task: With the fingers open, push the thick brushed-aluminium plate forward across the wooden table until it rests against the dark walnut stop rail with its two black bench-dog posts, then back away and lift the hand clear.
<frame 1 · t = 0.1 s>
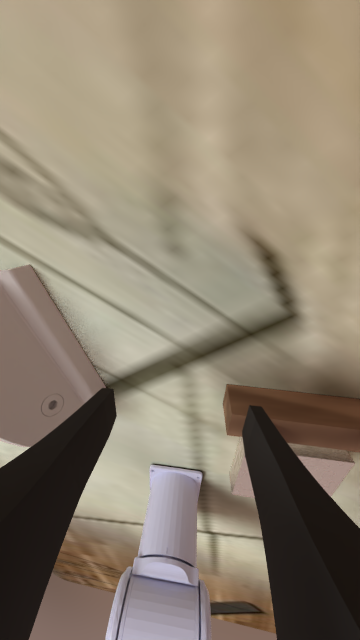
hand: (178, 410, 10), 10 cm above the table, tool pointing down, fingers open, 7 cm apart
stop rail: (304, 403, 22), on the table
plate: (278, 455, 27), on the table
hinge: (48, 341, 22), on the table
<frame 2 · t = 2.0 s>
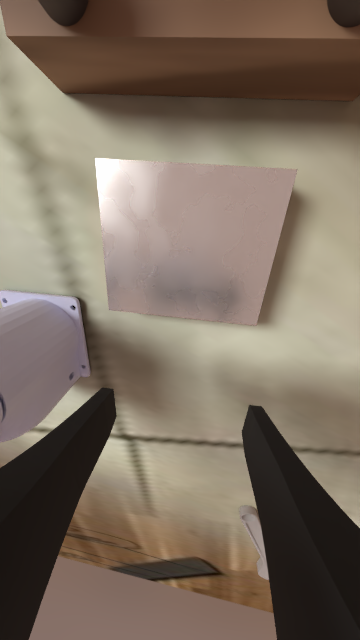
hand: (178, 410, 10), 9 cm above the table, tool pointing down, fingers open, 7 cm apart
stop rail: (203, 61, 11), on the table
adjustable wrench: (265, 538, 35), on the table
plate: (188, 249, 16), on the table
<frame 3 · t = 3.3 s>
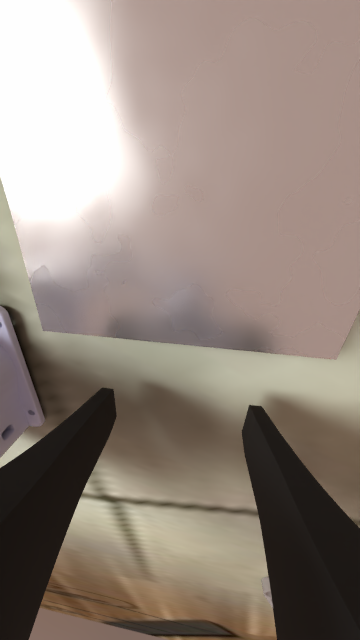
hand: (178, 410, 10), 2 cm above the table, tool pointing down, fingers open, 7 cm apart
plate: (194, 212, 9), on the table
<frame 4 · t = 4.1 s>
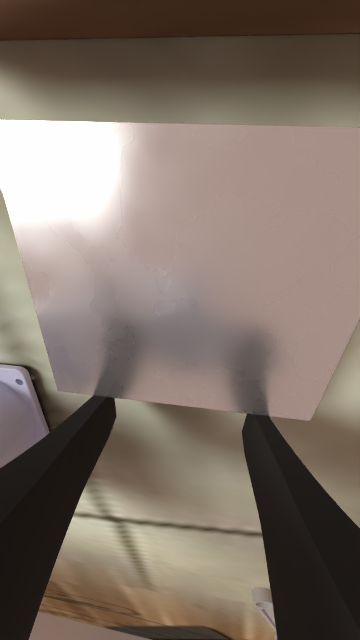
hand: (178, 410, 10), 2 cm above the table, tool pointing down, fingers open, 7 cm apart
adjustable wrench: (284, 613, 29), on the table
plate: (189, 285, 10), on the table, touching gripper
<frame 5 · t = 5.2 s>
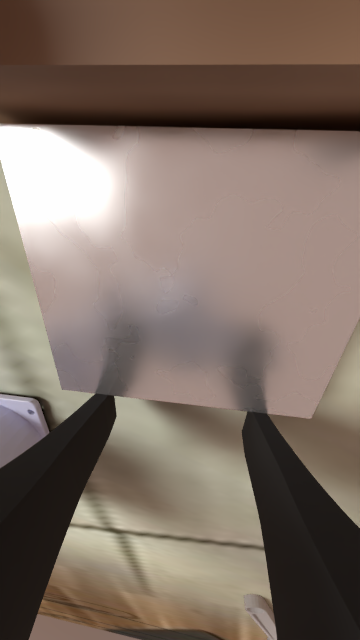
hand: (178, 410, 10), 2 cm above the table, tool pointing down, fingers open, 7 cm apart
stop rail: (203, 93, 7), on the table
adjustable wrench: (276, 617, 30), on the table
plate: (191, 285, 10), on the table
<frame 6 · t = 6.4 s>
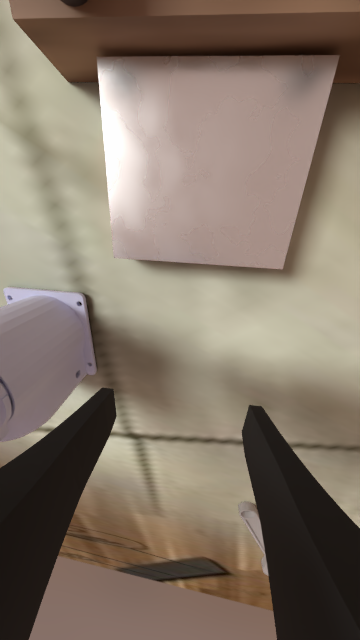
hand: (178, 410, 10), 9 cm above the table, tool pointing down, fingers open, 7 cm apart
stop rail: (212, 45, 11), on the table
adjustable wrench: (268, 534, 35), on the table
plate: (202, 188, 14), on the table
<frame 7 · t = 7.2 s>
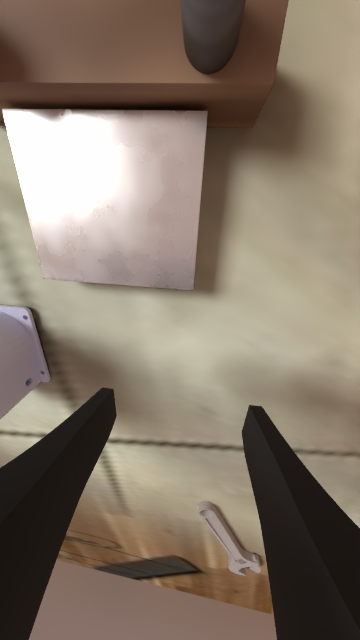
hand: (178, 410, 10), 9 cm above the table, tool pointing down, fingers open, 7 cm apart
stop rail: (114, 93, 12), on the table
adjustable wrench: (232, 533, 36), on the table
plate: (125, 215, 16), on the table
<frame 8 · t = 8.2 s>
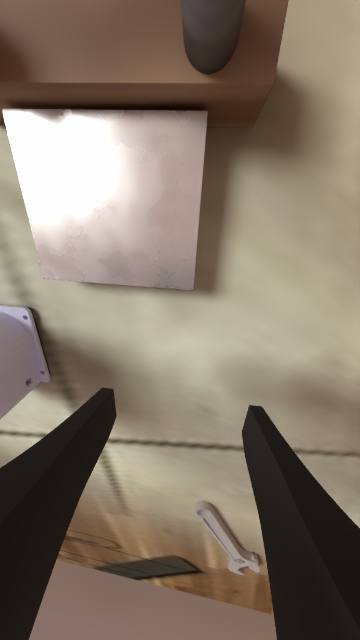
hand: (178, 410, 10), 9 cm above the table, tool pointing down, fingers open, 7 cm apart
stop rail: (114, 93, 12), on the table
adjustable wrench: (230, 532, 36), on the table
plate: (125, 215, 16), on the table
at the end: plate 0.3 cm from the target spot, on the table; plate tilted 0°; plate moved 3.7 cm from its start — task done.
